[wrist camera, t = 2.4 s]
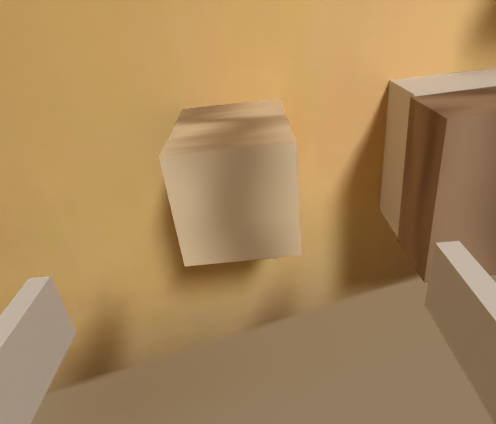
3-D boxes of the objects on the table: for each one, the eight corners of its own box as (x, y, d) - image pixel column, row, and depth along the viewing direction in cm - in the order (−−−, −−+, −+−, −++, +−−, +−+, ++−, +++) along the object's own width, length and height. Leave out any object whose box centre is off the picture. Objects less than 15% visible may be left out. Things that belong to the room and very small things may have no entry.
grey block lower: (378, 207, 27) (398, 239, 24) (387, 79, 23) (414, 94, 19) (505, 195, 27) (544, 224, 23) (540, 61, 22) (594, 73, 19)
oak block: (199, 194, 26) (184, 266, 19) (182, 109, 23) (158, 157, 16) (285, 185, 26) (301, 255, 19) (279, 98, 23) (296, 142, 16)
